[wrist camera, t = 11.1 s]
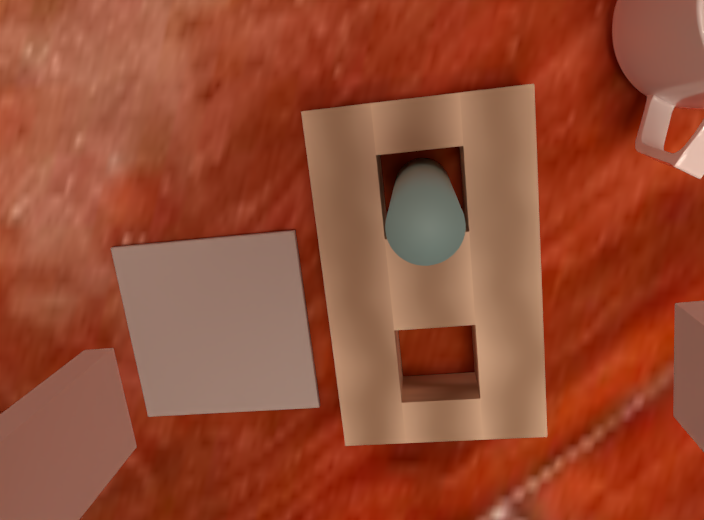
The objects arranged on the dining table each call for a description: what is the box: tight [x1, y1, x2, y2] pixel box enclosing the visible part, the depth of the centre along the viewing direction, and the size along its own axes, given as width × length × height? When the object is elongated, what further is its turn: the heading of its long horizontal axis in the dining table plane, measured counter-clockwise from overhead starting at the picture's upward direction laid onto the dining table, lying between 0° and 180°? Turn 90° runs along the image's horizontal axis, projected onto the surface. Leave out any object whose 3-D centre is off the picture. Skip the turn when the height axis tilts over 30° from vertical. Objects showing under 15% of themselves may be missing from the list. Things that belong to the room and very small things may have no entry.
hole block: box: [301, 84, 547, 446], centre depth 35 cm, size 12×20×4 cm, turn 6°
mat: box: [111, 230, 320, 417], centre depth 39 cm, size 12×12×1 cm
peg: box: [385, 158, 466, 266], centre depth 30 cm, size 3×3×12 cm
